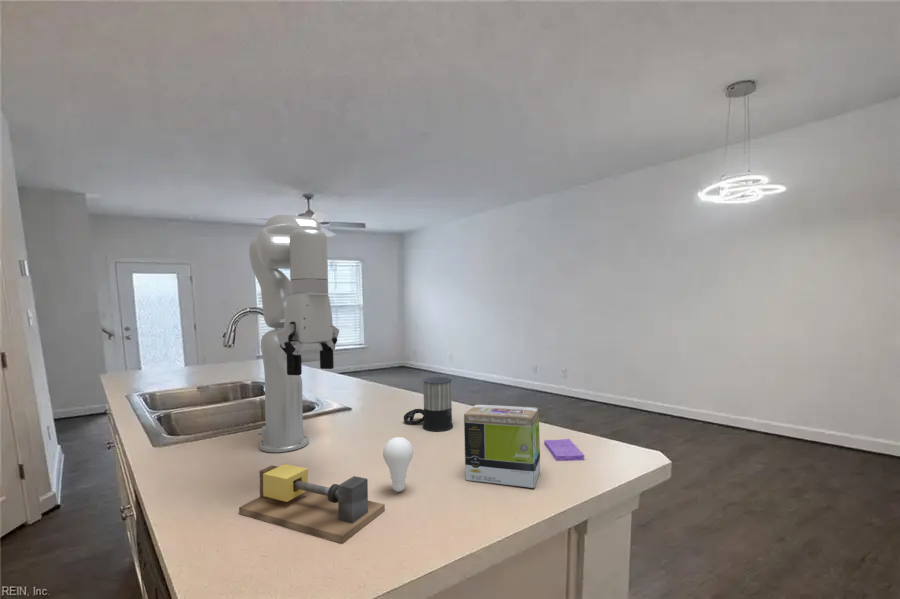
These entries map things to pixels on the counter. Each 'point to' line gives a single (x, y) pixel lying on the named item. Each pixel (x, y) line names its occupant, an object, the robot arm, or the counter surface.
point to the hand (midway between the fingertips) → (311, 371)
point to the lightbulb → (398, 460)
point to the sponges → (563, 450)
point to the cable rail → (319, 508)
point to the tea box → (502, 445)
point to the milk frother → (434, 405)
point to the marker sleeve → (283, 482)
